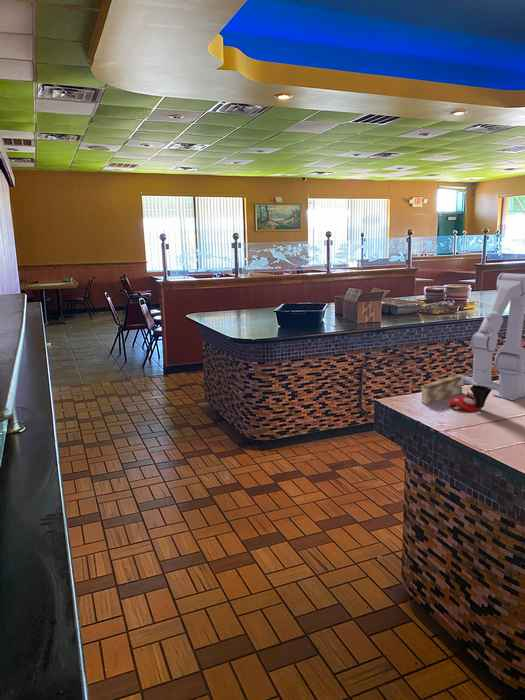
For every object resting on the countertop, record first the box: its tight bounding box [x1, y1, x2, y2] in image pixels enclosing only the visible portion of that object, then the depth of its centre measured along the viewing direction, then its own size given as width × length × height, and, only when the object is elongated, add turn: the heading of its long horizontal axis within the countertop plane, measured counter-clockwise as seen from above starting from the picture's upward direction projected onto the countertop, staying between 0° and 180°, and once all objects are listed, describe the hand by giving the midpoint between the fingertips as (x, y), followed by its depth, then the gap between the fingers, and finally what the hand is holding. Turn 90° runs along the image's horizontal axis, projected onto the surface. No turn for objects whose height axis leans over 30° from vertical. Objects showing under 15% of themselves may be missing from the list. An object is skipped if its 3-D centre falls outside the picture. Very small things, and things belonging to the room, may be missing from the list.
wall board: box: [421, 373, 466, 405], centre depth 191 cm, size 20×3×7 cm, turn 124°
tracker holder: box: [448, 391, 480, 413], centre depth 182 cm, size 12×4×10 cm
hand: (480, 407), depth 178 cm, fingers closed
